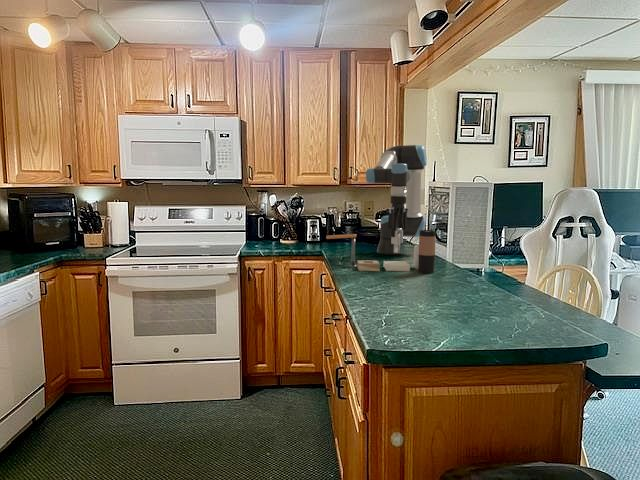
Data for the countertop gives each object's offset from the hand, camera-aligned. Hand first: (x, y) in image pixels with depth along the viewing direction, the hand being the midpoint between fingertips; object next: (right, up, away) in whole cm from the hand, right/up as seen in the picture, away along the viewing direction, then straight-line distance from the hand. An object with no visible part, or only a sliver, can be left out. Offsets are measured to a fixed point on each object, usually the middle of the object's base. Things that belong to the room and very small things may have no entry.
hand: (396, 243), depth 233 cm
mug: (+15, -13, +6) cm, 20 cm away
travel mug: (+13, -14, -6) cm, 20 cm away
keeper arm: (-27, +3, +2) cm, 27 cm away
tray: (0, -13, +2) cm, 13 cm away
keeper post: (-21, -12, +8) cm, 25 cm away
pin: (0, -5, +1) cm, 5 cm away
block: (-14, -13, +1) cm, 19 cm away
